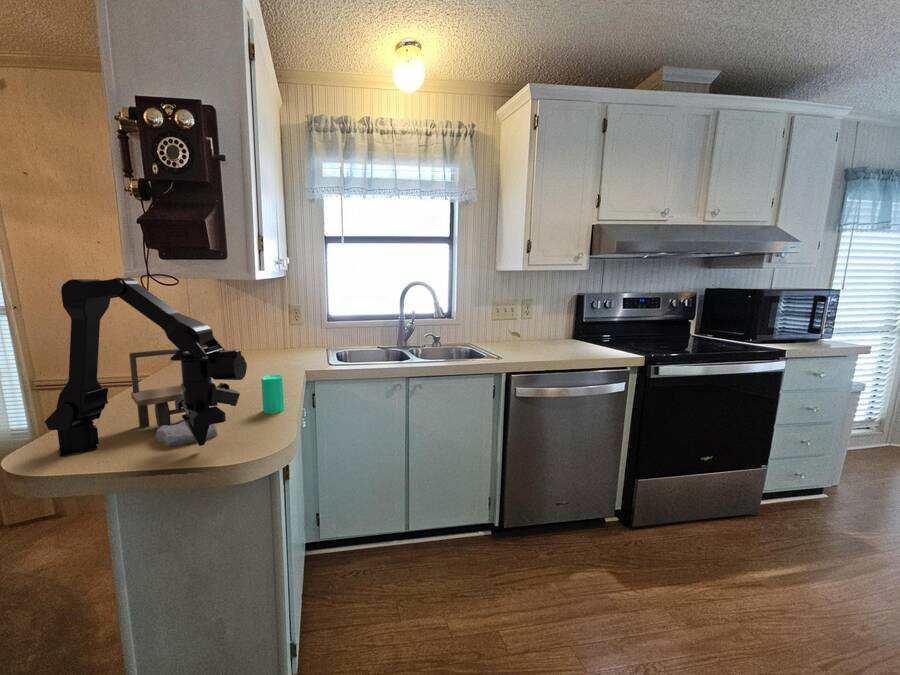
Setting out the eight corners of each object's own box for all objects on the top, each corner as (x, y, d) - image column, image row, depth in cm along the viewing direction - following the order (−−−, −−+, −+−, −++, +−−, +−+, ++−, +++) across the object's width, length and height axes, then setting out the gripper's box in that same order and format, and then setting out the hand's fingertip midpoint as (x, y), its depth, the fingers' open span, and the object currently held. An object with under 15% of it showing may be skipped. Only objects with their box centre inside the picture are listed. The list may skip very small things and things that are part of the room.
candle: (274, 406, 134) (272, 369, 133) (288, 409, 132) (286, 371, 130) (258, 411, 129) (256, 372, 127) (272, 414, 126) (270, 374, 125)
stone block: (222, 442, 110) (205, 426, 115) (222, 425, 108) (204, 410, 114) (170, 459, 100) (154, 441, 106) (169, 441, 99) (153, 423, 105)
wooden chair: (141, 437, 107) (133, 358, 105) (134, 426, 115) (127, 352, 113) (219, 421, 120) (214, 350, 117) (208, 412, 128) (203, 345, 125)
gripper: (248, 381, 96) (252, 447, 98) (223, 368, 109) (226, 427, 111) (191, 389, 88) (197, 461, 90) (172, 374, 102) (177, 437, 104)
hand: (201, 445), depth 99 cm, fingers closed
